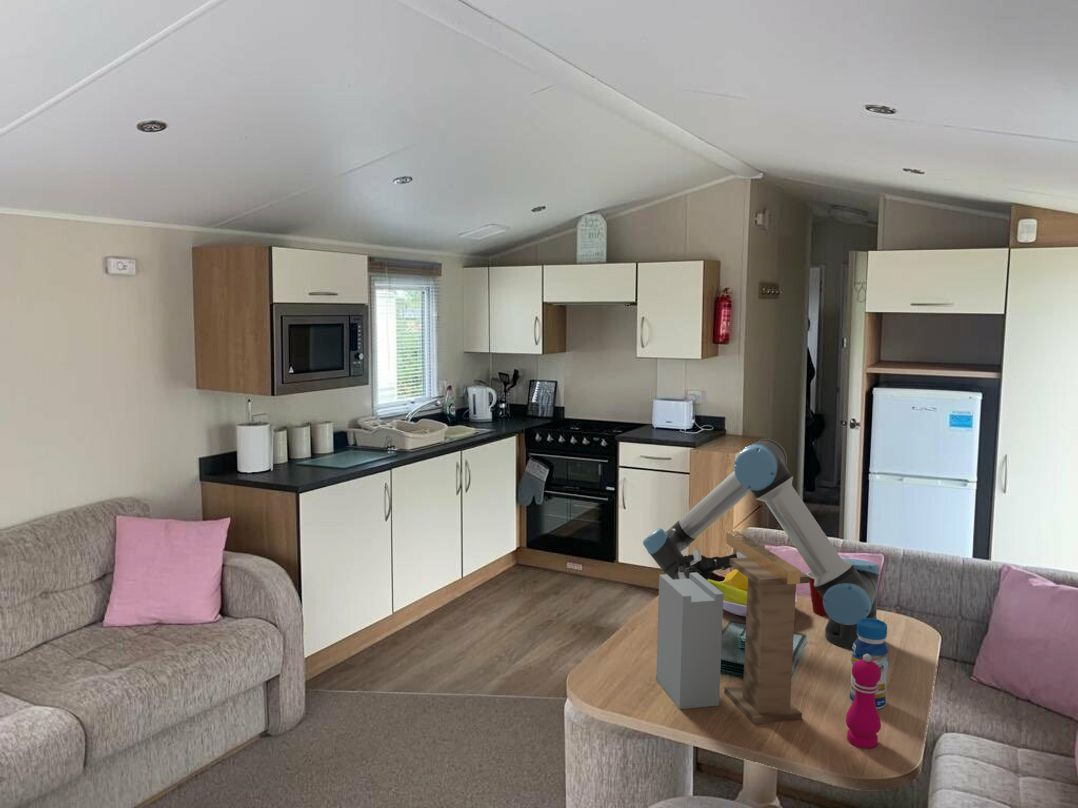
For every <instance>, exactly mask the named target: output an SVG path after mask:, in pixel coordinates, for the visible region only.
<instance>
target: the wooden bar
mask: <svg viewBox="0 0 1078 808" xmlns="http://www.w3.org/2000/svg"><path fill="white" fill-rule="evenodd" d="M725 538H726V539H725V540H726V541H725V543H726V544H727V545H728V546H729V547H731V548H732V549H734V550H736V552H740V553H741V554H743V555H744V556H746V557H747V558H749V559H750V560H752V561H753V562H755V563H756V564H758V565H759V566H761V567H762V568H764V569H765V570H767V571H768V572H770V573H771V574H773V575H774V576H776V577H777V578H779V579H780V580H782V581H783V582H785V583H786V584H796V585H798V584H800V572H802V570H801V569H799V568H798V567H796V566H795V565H793V564H791V563H789V562H788V561H786V560H785V559H783V558H781V557H780V556H778V555H777V554H775V553H773V552H772V551H770V550H768V549H767V548H765V547H764V546H762V545H760V544H759V543H757V542H755V541H754V540H753V539H750V537H748V536H746V535H744V534H743V533H741V532H739V531H726V537H725Z"/></svg>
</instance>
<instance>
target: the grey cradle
mask: <svg viewBox="0 0 1078 808" xmlns="http://www.w3.org/2000/svg"><path fill="white" fill-rule="evenodd" d="M658 575H659V578H658V606H657V607H658V608H657V610H658V611H657V612H658V613H657V636H656V637H657V643H656V669H655V670H656V672H655V681H657V683H658V684H659V685H660V687H661V688H662V689H663V690H664V692H665V693H666V694H667V695H668V697H669V698H670V699H671V701H672V702H673V703H674V705H675V706H676V707H677V708H678V710H684V709H685V710H686V709H687V710H688V709H697V708H707V707H716V706H718V707H719V706H720V696H721V695H720V692H721V691H720V688H721V667H722V665H721V664H722V645H723V644H722V643H723V642H722V639H723V638H722V637H723V617H724V616H723V615H724V609H723V593H722V592H721V591H719V590H718V589H717V588H716V587H714V586H713V585H712V584H711V583H710V582H708V581H707V580H706V579H705V578H703V577H702V576H701V575H700V574H698V573H697V572H696V573H690V574H689V579H675V580H673V579H672V578H671V577H670V576H668V575H667V574H665V573H664V574H663V573H662V574H658Z"/></svg>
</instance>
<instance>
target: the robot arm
mask: <svg viewBox="0 0 1078 808" xmlns="http://www.w3.org/2000/svg"><path fill="white" fill-rule="evenodd" d="M787 463H788V455H787V453H786V450H785V449H784V447H783V446H782V445H781V444H780V443H779V442H777V441H775V440H772V439H769V438H767V439H764V438H763V439H758V440H756V441H754V442H753V443H752V444H750V445H748V446H745V447H744V448H743V449H742V450H741V451H740V452H739V453H738V455H737V456H736V458H735V460H734V463H733V471H731V473H730V474H729V475H728V476H727V477H725V478H724V480H723V481H721V482H720V483H719V484H718V485H716V487H714V488H713V489H712V490H711V492H709V493H708V494H707V495H705V496H704V497H703V498H702V499H700V501H699V502H698V503H696V505H694V506H693V507H692V508H691V509H690V510H689V511H688V512H687V513H686V514H684V515H683V516H682V517H681V518H680V519H678V520H677V521H676V523H674V524H673V525H672V526H671V527H670V528H669V529H668V530H666V531H665V530H664V529H663V528H657V529H656V530H655V531H653V532H652V533H650V534H649V535H648V536H647V537H646V538H644V539H643V541H642V544H643V546H644V548H645V549H646V552H647V553H648V554H649V555H650V557H652V559H653V560H654V561H655V563H656V564H657V566H659V568H660V569H661V571H662V572H663V573H664V574H667V575H668V576H670V577H671V578H672V579H673V580H675V579H689V574H690V573H696V572H697V573H698V574H700V575H701V576H702V577H703V578H705V579H706V580H708V579H710V578H711V577H712V576H713V575H712V574H713V573H714V571H718V570H722V571H726V570H728V569H730V568H733V567H732V566H731V565H730V564H729V563H730V558H744V557H746V556H744V555H743V554H741V553H740V552H738V551H736V552H735V553H734V554H730V555H726V556H714V557H706V556H705V555H703V554H702V553H701V549H700V548H699V549H698V548H697V549H696V550H694V551H692V552H691V553H689V554H687V555H684V554H683V553H682V552H683V551H684V550H685V549H687V548H688V547H690V545H691V544H692V543H694V541H696V539H697V538H699V537H700V536H701V535H702V534H703V533H704V532H705V531H707V530H708V529H709V528H710V527H711V526H713V525H714V524H715V523H716V522H717V521H718V520H719V519H720V518H722V517H723V516H724V515H725V514H726V513H727V512H729V510H731V509H732V508H733V507H734V506H735V505H737V504H738V503H739V502H740V501H741V500H742V499H744V498H745V497H746V496H747V495H748V494H749V493H752V495H753V496H754V498H755V499H756V500H757V501H760V502H763V503H765V504H766V505H767V507H768V509H769V511H770V512H771V513H772V515H773V516H774V517H775V519H776V520H777V522H778V523H779V525H780V526H781V528H782V530H783V531H784V532H785V534H786V536H787V537H788V539H789V540H790V541H791V543H792V544H793V546H794V547H795V549H796V550H797V552H798V553H799V555H800V556H801V558H802V559H803V561H804V563H805V564H806V565H807V567H808V568H809V570H810V572H812V573H813V574H814V576H815V582H814V586H815V587H816V589H817V590H818V592H819V593H820V595H821V597H822V598H823V606H824V609H825V611H826V613H827V615H828V616H827V617H828V618H829V619H828V621H827V623H826V626H825V628H824V629H825V630H824V637H825V639H826V640H827V641H828V642H830V643H832V644H833V645H836V646H838V647H841V648H845V649H850V650H852V646H853V644H854V642H855V640H856V639H857V638H858V637H859V636H858V635H857V622H858V620H859V619H862V618H872V619H877V620H878V618H877V608H878V595H879V593H878V592H879V577H880V575H881V574H880V567H879V565H878V564H877V563H875V562H872V561H869V560H863V559H858V558H842V557H841V555H840V554H839V553H838V551H837V550H836V548H835V546H834V545H833V544H832V543H831V541H830V540H829V538H828V537H827V535H826V533H825V532H824V531H823V529H822V527H821V526H820V525H819V523H818V522H817V521H816V519H815V517H814V516H813V514H812V513H811V511H810V509H808V507H807V505H806V504H805V502H804V501H803V500H802V498H801V497H800V495H799V494H798V492H797V491H796V489H795V488H794V487H793V480H794V476H793V475H792V473H791V472H790V471H789V469H788V467H787Z"/></svg>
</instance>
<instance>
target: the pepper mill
mask: <svg viewBox="0 0 1078 808" xmlns="http://www.w3.org/2000/svg"><path fill="white" fill-rule="evenodd" d="M871 659H872V658H871V656H870V655H869V654H865V655H864V656H863V659H862V660H858V661H856V662H855V663H854V665H853V667H852V666H851V671H852V675H853V677H854V679H855V680H854V681H853V683H854V685H853V687H854V689H855V698H854V701H853V703H852V702H851V705H850V707H849V708H848V710H847V713H846V716H845V723H846V726H847V728H848V729H847V732H846V740H847V741H848V743H850V744H851V745H853V746H855V747H857V748H862V749H872V748H873V749H874V748H875V747H876V746H877V745H878V738H879V735H878V733H879V731H880V730H881V728H882V725H881V724H882V721H881V717H880V714H879V712H878V711H879V710H878V709H876V706H875V692H877V691H878V688H877V687H878V684H877V682H878V681H879V680H880V678H881V670H880V668H879V666H878V665H877V664H876V663H875V662H873V661H871Z"/></svg>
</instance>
